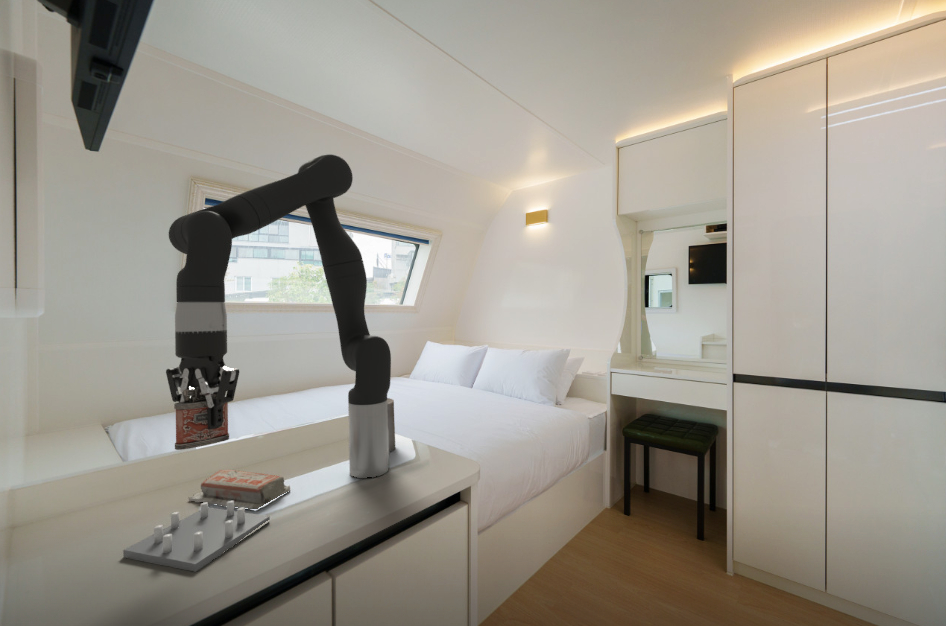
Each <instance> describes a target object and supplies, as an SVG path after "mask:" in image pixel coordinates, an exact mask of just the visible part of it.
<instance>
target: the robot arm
mask: <svg viewBox="0 0 946 626" xmlns="http://www.w3.org/2000/svg"><path fill="white" fill-rule="evenodd" d="M352 183H353V172H352V168H351V167H350V165H349V163H347V161H346V160H345V159H344V158H343V157H341V156H339V155H337V154H333V153H325V154H322V155H320V156H319V155H318V156H317V157H315V158H313V159H311V160H308V161H306V162H304V163H302V165H300V167H299V168H298V171H297V173H294V174H291V175H290V176H288V177H285V178H284V177H283V178H281V179H279V180H276V181H272V182H269V183H267V184H264V185H260V186H258V187H255V188H252V189H249V190H247V191H244V192H242V193H240V194H237V195H234V196H232V197H230V198H227V199H226V200H225V201H222V202H220V203H218V204H214V205H212V206H209V207H205V208H202V209H199V210H196V211H193V212H191V213H188V214H186V215H181V216H180V217H178V218H177V219H175V220H173V222H172V223H171V225H170V226H169V230H168V240H169V242H170V243H171V245H172V246H173V248H175V250H177V251H178V252H180V253H182V254H185V255H186V257H185V258H186V259H185V265H184V267H183V268H181V269H180V270H179V271H178V272H177V275H176V284H175V285H176V286H175V287H176V307H175V308H176V309H175V313H174V332H175V333H174V340H175V341H174V344H175V345H174V348H175V357H177V358H180V363H179V366H176V367H171V368H167V369H166V370H165V374H166V378H167V379H166V380H167V381H168V382H167V383H168V387H169V392H170V396H171V399H172V401H173V403H178V402H184V398H183V390H186V389H194V388H196V387H199V388H201V392H202V394H203V395H205V397H206V400H207V404H208V407H209V408H207V421H208V429H216V428H219V427H221V425H222V423H223V405H224V404H225V403H228V404H229V403H230V402H233V401H234V399H235V394H236V389H237V385H238V380H239V376H240V369H238V367H237V368H230V367H227V366H226V363H225V361H224V356H225V355H226V354H227V353H228V320H227V319H228V318H227V317H228V316H227V315H228V314H227V309H226V286H225V285H226V284H225V278H226V274H227V270H228V266H229V261H230V257H231V253H232V247H233V246H232V245H233V239H235V238H238V237H242V236H246V235H249V234H252V233H255V232H257V231H258V230H261V229H264V228H265V227H267V226H269V225H271V224H272V223H275V222H277V221H279V220H280V219H282V218H284V217H286V216H287V215H290V214H291V213H293V212H295V211H297V210H298V209H301V208H303V207H304V206H305V209H306V211H307V215H308V217H309V219H310V222H311V225H312V228H313V233H314V237H315V240H316V243H317V247H318V251H319V252H318V253H319V255H320V259H321V263H322V268H323V273H324V276H325V282H326V285H327V288H328V292H329V296H330V298H331V299H330V300H331V303H332V304H331V305H332V307H333V311H334V314H335V318H336V323H337V329H338V330H337V331H338V336H339V344H340V351H341V356H342V360H343V363H344V364H345V366H346V367H348V368H349V369H350V370H352V371H354V372H355V379H354V380H355V381H354V386H353V387H352V388H350V390H348V395H347V402H348V407H347V409H348V446H349V447H348V452H349V455H348V456H349V457H348V459H349V460H348V461H349V463H348V464H349V475H350V476H351V477H353V476H354V477H353V478H356V477H357V478H356V479H368V478H367V477H372V478H376V476H377V477H379V476H382V475H385V474H386V473H387V472H388V471H389V466H390V452H389V430H388V414H387V398H388V393H389V392H390V391H389V390H390V387H391V377H392V376H391V374H392V373H391V371H392V354H391V348H390V346H389V344H388V342H387V341H386V340H385V339H384V338H383V337H381V336H378V335H371V334H370V331H369V327H368V323H367V320H366V315H365V303H366V296H367V290H368V289H367V285H368V282H367V279H368V278H367V273H366V268H365V264H364V260H363V256H362V252H361V251H360V249H359V247H358V245H357V244H356V243H355V242H354V240H353V239H352V238H351V236H350V234H348V233H347V231H346V229H345V228H344V227H343V225H342V224H341V222H340V220H339V217H338V214H337V209H336V206H335V201H334V199H335V198H338V197H340V196H342V195H344V194H346V193H347V192H348V191H349V190H350V189H351V187H352V185H353V184H352ZM214 386H216V387H215V388H209V387H214ZM178 388H179V389H180V390H179V389H178ZM179 391H180V392H181V393H179ZM213 393H215V394H216V399H214V396H213ZM191 397H192V396H190V399H191ZM190 399H189V401H190Z"/></svg>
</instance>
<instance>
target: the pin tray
mask: <svg viewBox="0 0 946 626" xmlns="http://www.w3.org/2000/svg"><path fill="white" fill-rule="evenodd" d="M199 509H200V510H198V511H196V512H193V513H192V514H190V515H188V516H186V517H185V518H181V519H180V511H175V512H172V513H171V514H170V525H169V526H166V527H165V528H164V525H163V524H159V525H156V526H154V527H153V534H152V535H149V536H147V537H145V538H143V539H142V540H140V541H138V542H136V543H134V544H132V545H130V546H129V547H126V548H124V549H123V550H122V553H123V556H122V557H123V558H125V559H128V560H129V559H130V560H136V561H141V562H145V563H150V564H155V565H161V566H165V567H170V568H174V569H180V570H184V571H189V572H195V573H196V572H198V571H199V570H201V569H202V568H204V567H205V566H207V565H208V564H210V563H211V562H213V561H214V560H216V559H217V558H219V557H220V556H222V555H223V554H224V553H223V552H224V551H226V550H227V549H229V548H231V547H232V546H234V545H235V544H236V543H238V542H239V541H240V540H241V539H243V538H244V537H245V536H246V535H248V534H249V533H251V532H252V531H253V530H255V529H256V528H258V527H259V526H260V525H262V524H263V523H265V522H266V521H268V520H270V518H271V517H270V515H264V514H257V513H251V512H245V511H246V510H245V508H244V507H241V508H238V509H237V508H236V510H235V508H234V501H228V502H227V507H226V509H223V508H216V507H210V506H209V504H208V502H204V503H200V508H199ZM270 521H271V520H270ZM238 544H239V543H238ZM235 546H236V545H235ZM235 546H234V547H235ZM232 548H233V547H232ZM232 548H231V549H232ZM229 550H230V549H229ZM226 552H227V551H226ZM222 553H223V554H222ZM221 554H222V555H221ZM218 556H219V557H218ZM215 558H216V559H215ZM213 559H214V560H213ZM212 560H213V561H212Z"/></svg>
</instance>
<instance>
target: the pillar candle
mask: <svg viewBox="0 0 946 626" xmlns="http://www.w3.org/2000/svg"><path fill="white" fill-rule="evenodd" d="M387 414H388V430H389V453H391V452H393V451H394V450H395V448H396V428H395V427H396V426H395V402H394V399H393V398H390V397H387Z"/></svg>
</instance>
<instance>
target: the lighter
mask: <svg viewBox="0 0 946 626" xmlns="http://www.w3.org/2000/svg"><path fill="white" fill-rule="evenodd" d="M215 387H216V386H214V387H209V388H215ZM190 396H192V397H191V399H190ZM213 396H214V399H216V394H215V393H213ZM183 398H184V402H174V410H175V443H174V450H175V451H182V450H189V449H194V448H195V449H196V448H200V447H204V446H209V445H214V444H218V443H221V442H225V441H228V440H230V433H229V415H228V414H229V409H228V408H229V405H228V404H229V402H228V403H225V404H224V405H223V423H222V425H221V427H219V428H216V429H208V421H207V408H209V407H208V404H207V400H206V397H205V395H203V394H202V392H201V388H199V387H196V388H194V389H186V390H183ZM189 399H190V401H189Z"/></svg>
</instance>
